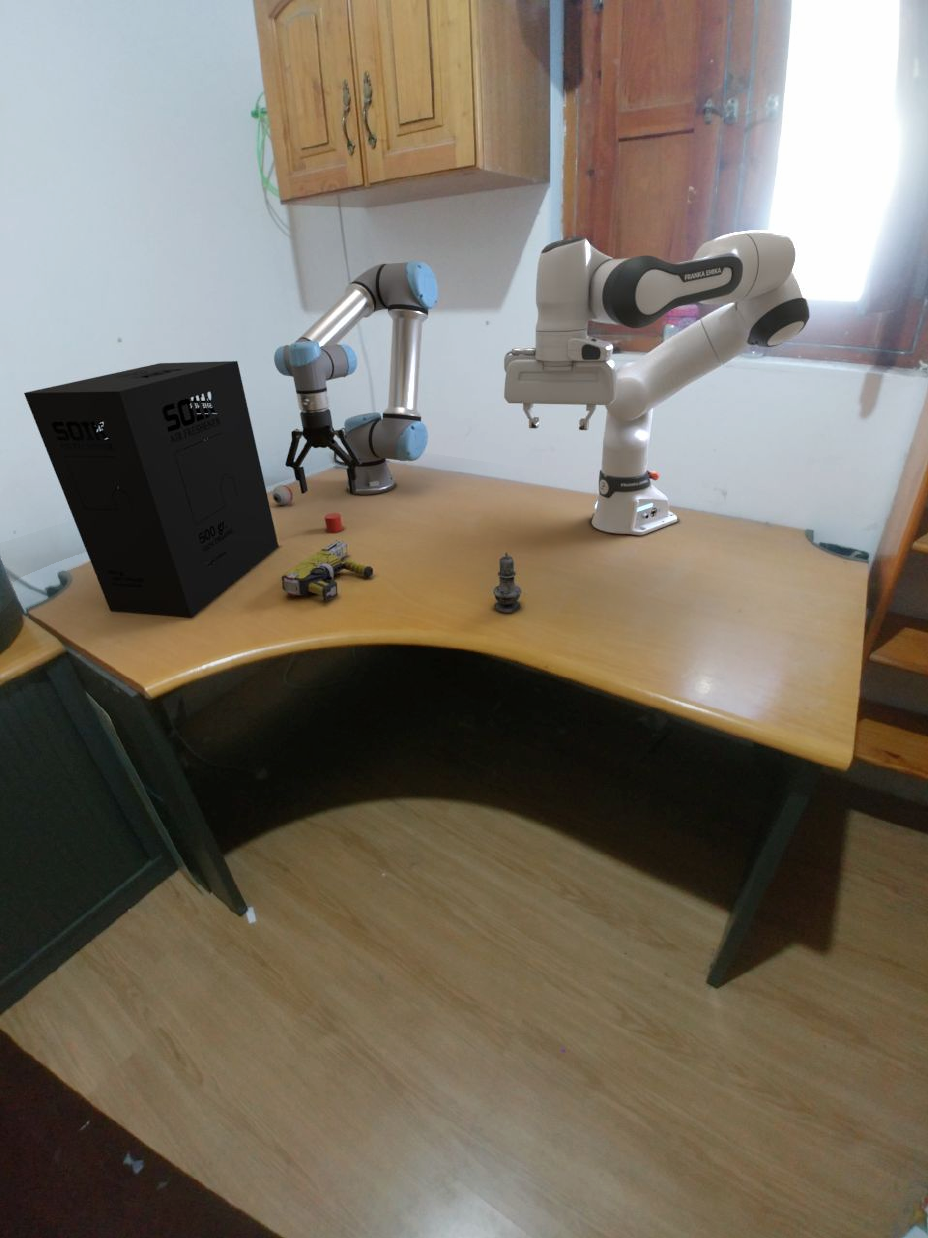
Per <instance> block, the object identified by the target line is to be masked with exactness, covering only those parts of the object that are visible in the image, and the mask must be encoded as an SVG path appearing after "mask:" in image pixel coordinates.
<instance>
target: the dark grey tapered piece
mask: <svg viewBox="0 0 928 1238" xmlns="http://www.w3.org/2000/svg"><path fill="white" fill-rule="evenodd" d="M498 562H499V564H498V565H499V566H498V567H499V571H498V572H497V576H498V577H499V578H498V579H499V583H498V585H497V586H495V587H494V588H492V594H493V595H494V598H495V600H496V601H497V602H495V603H494V609H495V610H496V611H497V612H500V613H515V612H517V611H519V609H520V608H521V603H520V602H518V601H519V600H520V597H521V594H522V591H523V590H522V588H521V587H520V586H519V585H516V581H515V577H516V575H517V572H516V571H515V560H514V557H512V556H511V555H509V553H508V552H505V553H504V556H501V557H500V558H499V561H498Z"/></svg>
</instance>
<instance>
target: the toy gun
mask: <svg viewBox="0 0 928 1238" xmlns="http://www.w3.org/2000/svg"><path fill="white" fill-rule="evenodd" d="M345 548H348V543H347V542H346V541H343V540H342V541H341V540H339V539H338V540H335V541H334V542H333V543H331V544H330V545H327V546H326V547H325V548H321V549H320V550H318V551H317V552H316V553H314V554H312V555H311V556H310V557H307V559H305V560H304V561H302V562H300V563H299V564H298V565H296V566H294V567H293V568H291V569H290V570H288V571H287V572H285V573H284V574H282V576H281V585H282V586H281V587H282V590H283V591H284V592H285V593H287V596H292V597H295V596H302V597H303V596H307V595H310V594H315V595H318V596H320V597H322V601H323V602H325V603H327V602H328V601H330V600H332V599H333V598H335V597H337V596H338V594H339V593H338V582H337V581H336V580H334V578H335V577H334V575H336V574H337V573H340V572H342V571H343V570H346V571H349V572H353V573H355V574H358V575H361V576H364V577H366V578H370V577H372V576H373V575H374V569H373V567H372V566H370V565H365V564H361V563H359V562H357V561H352V560H349V559H347V560H345V561H344V562H342V560H343V558H344V557H347V556H348V554H349V553H348V549H346V552H344V549H345Z"/></svg>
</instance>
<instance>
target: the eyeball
mask: <svg viewBox="0 0 928 1238" xmlns="http://www.w3.org/2000/svg"><path fill="white" fill-rule="evenodd" d="M271 496H272V500H274V502H275V503H276V504H277V505H280V506H286V505H289V504H291V502H292V500H293V497H294V495H293V491H292V489H291V488H289V486H287V485H283V484H279V485H277V486H275V487H274V488H273V490H272V494H271Z"/></svg>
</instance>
